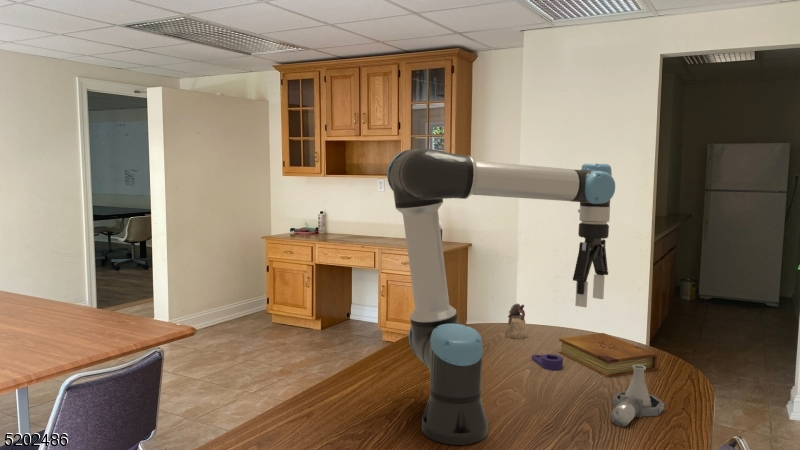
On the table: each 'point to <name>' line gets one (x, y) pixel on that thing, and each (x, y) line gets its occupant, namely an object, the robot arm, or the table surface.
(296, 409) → the table surface
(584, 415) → the table surface
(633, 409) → the octagonal metal scoop
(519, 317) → the figurine
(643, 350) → the diary
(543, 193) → the robot arm
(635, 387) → the flask
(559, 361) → the lever
